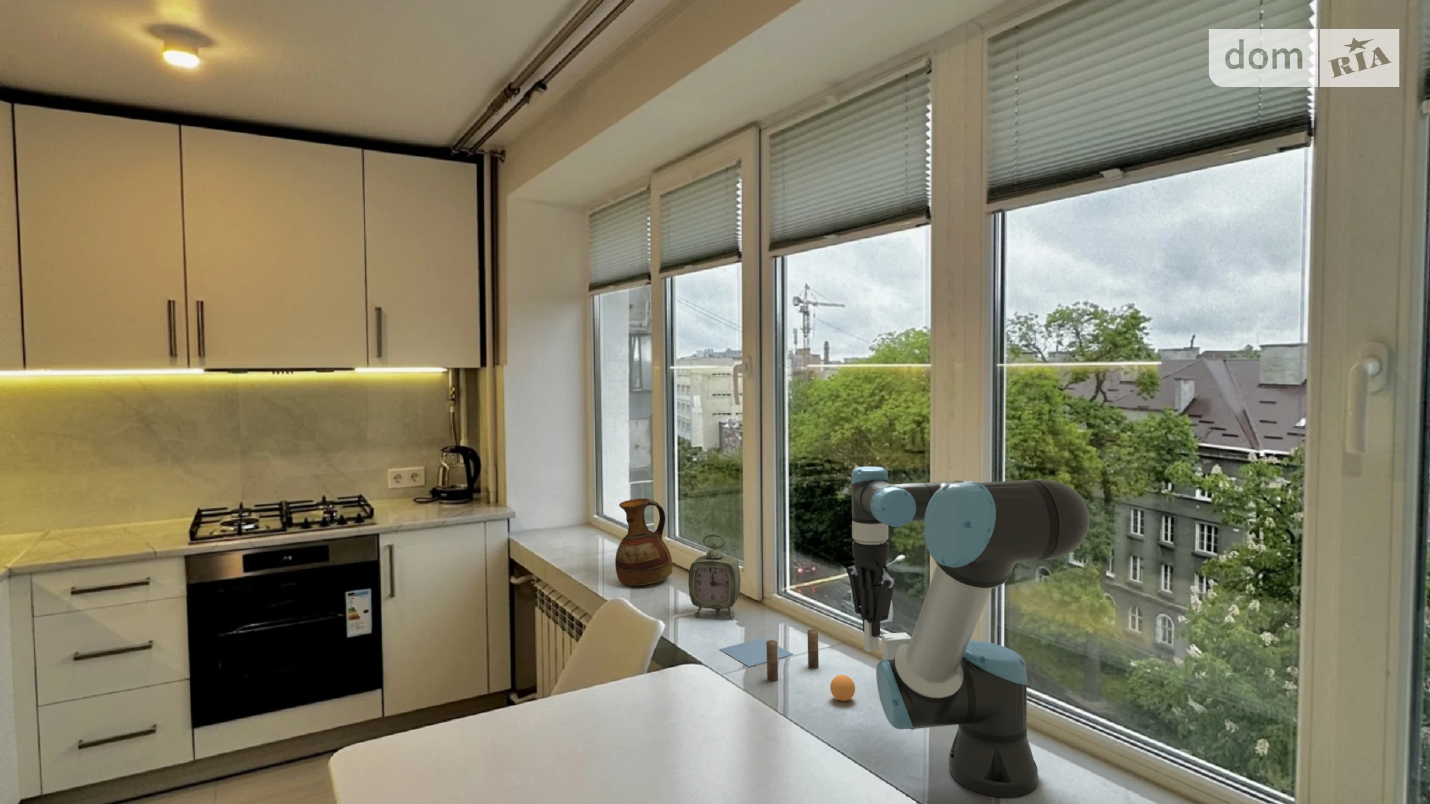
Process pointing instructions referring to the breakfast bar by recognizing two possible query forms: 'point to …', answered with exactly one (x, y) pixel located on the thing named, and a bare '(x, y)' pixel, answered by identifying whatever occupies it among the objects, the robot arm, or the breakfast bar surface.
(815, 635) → the right post
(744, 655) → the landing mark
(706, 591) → the tabletop clock
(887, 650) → the skincare box
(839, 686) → the ball
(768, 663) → the left post
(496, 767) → the breakfast bar surface
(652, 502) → the ceramic pitcher
